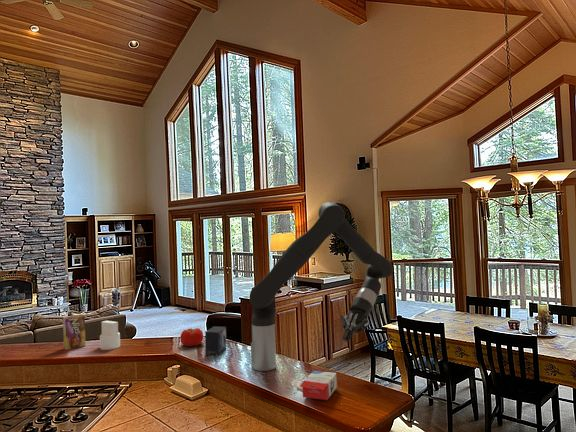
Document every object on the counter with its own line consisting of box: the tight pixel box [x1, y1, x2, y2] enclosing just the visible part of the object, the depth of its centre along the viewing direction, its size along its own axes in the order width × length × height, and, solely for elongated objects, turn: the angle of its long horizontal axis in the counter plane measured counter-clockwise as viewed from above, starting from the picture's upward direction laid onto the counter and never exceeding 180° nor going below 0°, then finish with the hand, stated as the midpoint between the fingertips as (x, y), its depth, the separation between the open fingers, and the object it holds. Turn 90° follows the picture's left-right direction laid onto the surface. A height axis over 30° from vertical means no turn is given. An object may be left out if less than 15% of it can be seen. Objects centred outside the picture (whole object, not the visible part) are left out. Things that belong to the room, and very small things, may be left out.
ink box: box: [300, 370, 338, 401], centre depth 139 cm, size 8×5×15 cm
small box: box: [204, 325, 227, 357], centre depth 191 cm, size 11×6×10 cm, turn 168°
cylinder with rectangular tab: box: [99, 320, 121, 351], centre depth 204 cm, size 9×9×12 cm
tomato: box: [179, 327, 204, 348], centre depth 204 cm, size 11×11×8 cm
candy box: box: [62, 313, 86, 351], centre depth 205 cm, size 9×4×15 cm, turn 133°
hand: (345, 340), depth 156 cm, fingers closed
